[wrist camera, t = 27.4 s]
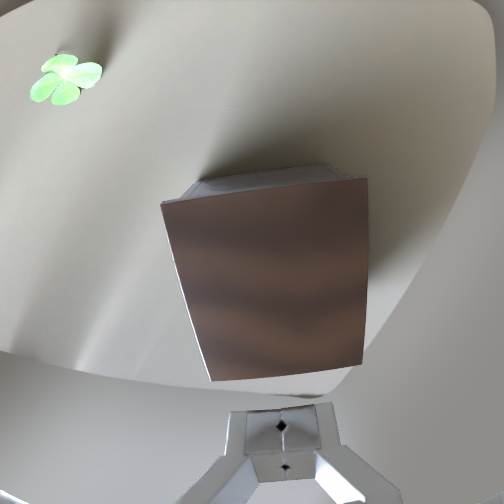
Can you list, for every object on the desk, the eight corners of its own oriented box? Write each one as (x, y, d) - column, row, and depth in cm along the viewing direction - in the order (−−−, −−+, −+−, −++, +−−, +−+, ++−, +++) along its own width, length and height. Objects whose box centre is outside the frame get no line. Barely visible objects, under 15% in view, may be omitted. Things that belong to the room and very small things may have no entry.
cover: (162, 201, 21) (159, 204, 21) (363, 175, 20) (367, 177, 20) (211, 375, 28) (210, 381, 27) (360, 358, 27) (361, 364, 26)
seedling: (90, 70, 31) (101, 99, 30) (30, 87, 27) (34, 118, 26) (93, 22, 25) (104, 45, 24) (25, 38, 21) (25, 65, 20)
